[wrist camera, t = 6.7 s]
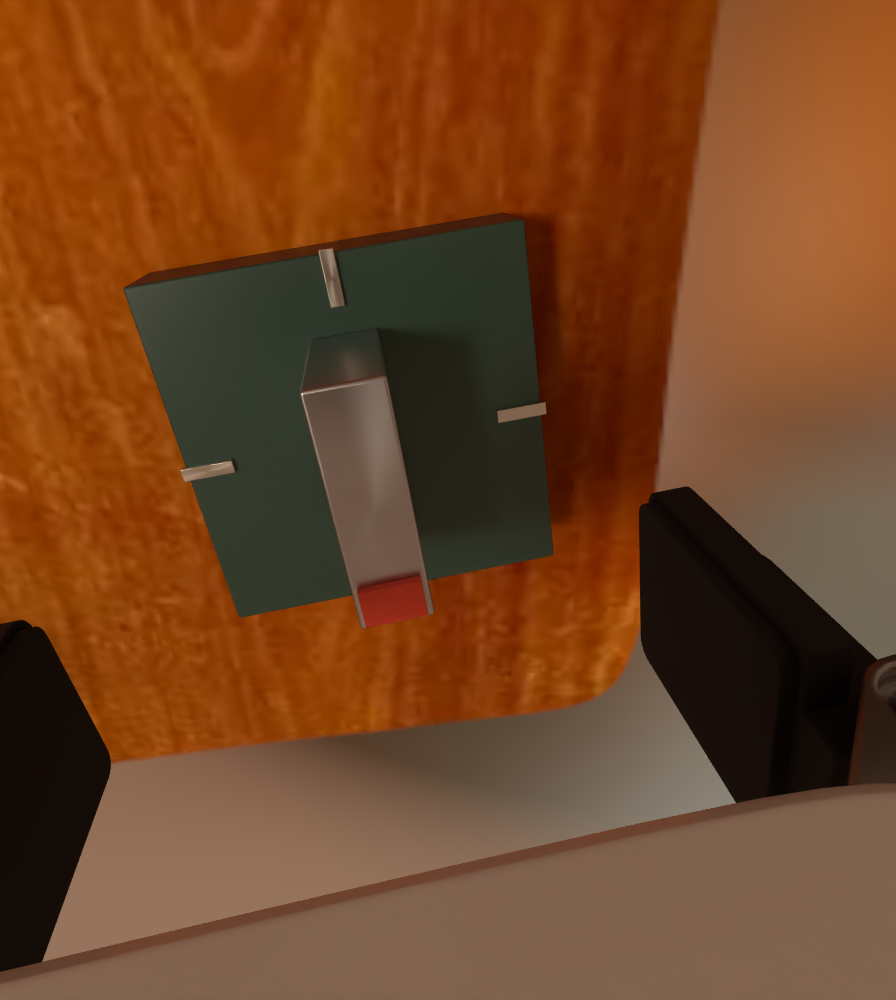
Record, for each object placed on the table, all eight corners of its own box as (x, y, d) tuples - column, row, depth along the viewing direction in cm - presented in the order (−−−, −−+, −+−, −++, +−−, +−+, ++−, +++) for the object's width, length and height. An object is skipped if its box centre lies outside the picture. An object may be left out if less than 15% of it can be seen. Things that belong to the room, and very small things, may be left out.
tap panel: (143, 269, 19) (113, 284, 16) (506, 208, 19) (529, 213, 17) (246, 578, 23) (235, 625, 21) (537, 521, 24) (558, 560, 22)
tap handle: (308, 339, 18) (297, 395, 13) (377, 327, 18) (387, 378, 14) (357, 539, 20) (361, 636, 16) (417, 526, 20) (436, 621, 16)
